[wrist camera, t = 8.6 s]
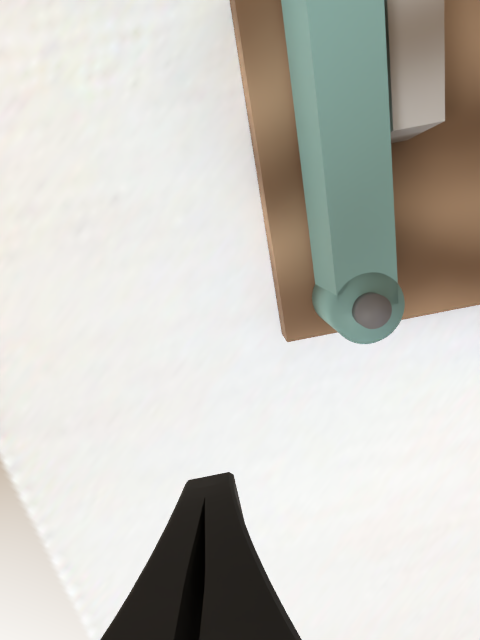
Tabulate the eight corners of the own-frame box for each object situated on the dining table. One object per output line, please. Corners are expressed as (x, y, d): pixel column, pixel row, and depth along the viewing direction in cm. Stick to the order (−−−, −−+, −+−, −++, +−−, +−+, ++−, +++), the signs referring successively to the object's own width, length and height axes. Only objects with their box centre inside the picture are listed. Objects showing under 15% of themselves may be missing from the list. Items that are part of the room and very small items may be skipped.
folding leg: (373, 318, 16) (413, 340, 13) (315, 329, 16) (340, 354, 13) (347, -35, 12) (395, -137, 9) (272, -21, 12) (291, -118, 9)
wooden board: (588, 273, 18) (704, 285, 14) (281, 333, 18) (301, 364, 14) (630, -86, 14) (817, -233, 9) (228, -10, 14) (230, -124, 9)
